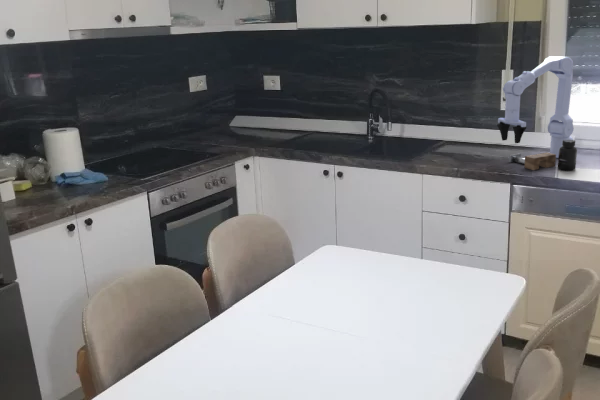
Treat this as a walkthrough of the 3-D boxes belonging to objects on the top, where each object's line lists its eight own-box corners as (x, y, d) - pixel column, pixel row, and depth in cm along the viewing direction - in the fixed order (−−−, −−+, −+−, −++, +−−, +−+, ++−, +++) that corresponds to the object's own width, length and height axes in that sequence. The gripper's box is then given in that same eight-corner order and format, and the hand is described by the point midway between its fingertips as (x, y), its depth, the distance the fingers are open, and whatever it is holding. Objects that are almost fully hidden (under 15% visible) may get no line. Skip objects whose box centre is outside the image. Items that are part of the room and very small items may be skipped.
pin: (509, 162, 272) (509, 155, 271) (518, 160, 274) (519, 153, 274) (524, 166, 264) (524, 158, 264) (534, 164, 267) (534, 157, 266)
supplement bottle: (557, 170, 254) (559, 142, 251) (557, 167, 260) (559, 138, 257) (575, 171, 252) (578, 142, 248) (575, 167, 258) (577, 139, 254)
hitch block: (546, 163, 266) (546, 152, 265) (555, 166, 262) (555, 154, 260) (524, 167, 261) (525, 156, 260) (533, 170, 257) (534, 158, 256)
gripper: (492, 108, 266) (491, 140, 270) (517, 112, 254) (516, 145, 257) (505, 107, 269) (504, 138, 273) (530, 110, 256) (528, 143, 260)
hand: (510, 141), depth 265 cm, fingers open, 7 cm apart
